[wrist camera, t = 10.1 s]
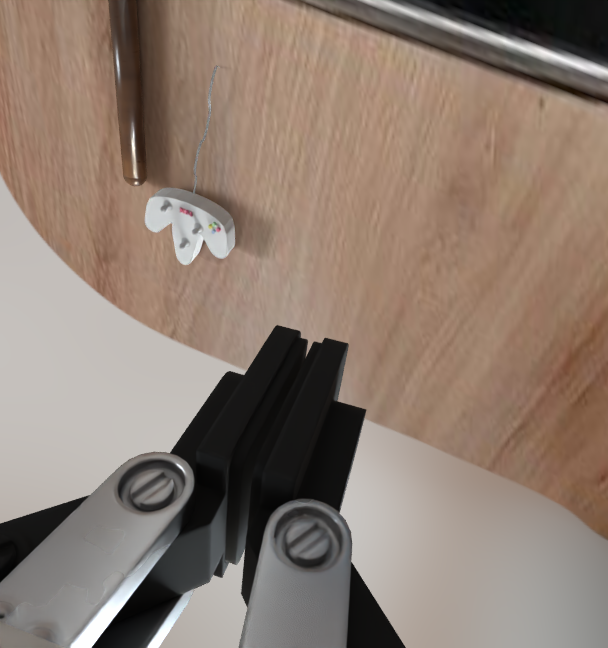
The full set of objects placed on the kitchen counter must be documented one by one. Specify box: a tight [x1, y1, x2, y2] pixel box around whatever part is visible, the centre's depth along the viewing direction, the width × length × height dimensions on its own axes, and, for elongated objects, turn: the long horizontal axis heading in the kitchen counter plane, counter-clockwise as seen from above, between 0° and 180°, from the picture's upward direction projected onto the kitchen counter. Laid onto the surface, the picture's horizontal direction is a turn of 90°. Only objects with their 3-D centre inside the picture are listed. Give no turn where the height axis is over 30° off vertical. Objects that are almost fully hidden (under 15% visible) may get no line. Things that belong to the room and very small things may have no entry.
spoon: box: [108, 0, 147, 186], centre depth 27 cm, size 17×5×1 cm, turn 173°
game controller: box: [145, 66, 235, 265], centre depth 29 cm, size 6×12×3 cm, turn 2°
